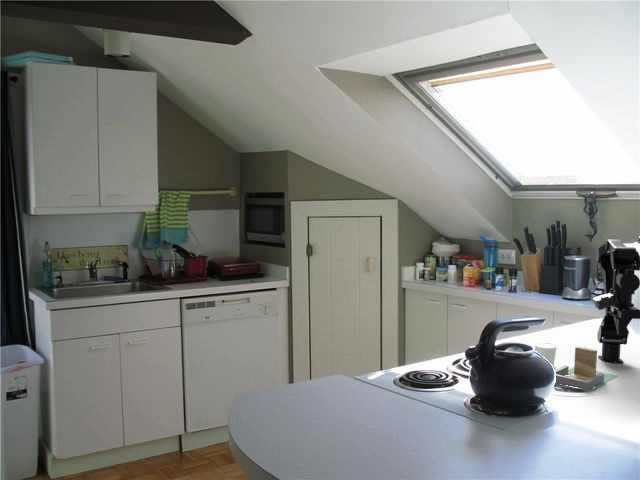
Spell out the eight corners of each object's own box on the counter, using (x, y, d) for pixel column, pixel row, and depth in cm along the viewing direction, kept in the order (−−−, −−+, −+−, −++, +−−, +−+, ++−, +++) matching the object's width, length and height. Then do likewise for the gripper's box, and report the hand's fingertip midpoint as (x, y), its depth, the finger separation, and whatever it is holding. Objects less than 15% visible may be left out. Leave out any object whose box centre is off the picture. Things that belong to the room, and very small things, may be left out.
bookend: (576, 374, 217) (578, 346, 216) (595, 378, 213) (597, 350, 212) (560, 382, 209) (562, 353, 208) (580, 386, 205) (581, 357, 204)
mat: (575, 367, 226) (575, 366, 226) (619, 376, 216) (619, 375, 216) (544, 382, 210) (544, 381, 210) (589, 393, 200) (589, 392, 200)
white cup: (552, 363, 230) (553, 342, 229) (557, 369, 223) (558, 348, 222) (531, 362, 230) (532, 342, 230) (536, 368, 224) (537, 347, 223)
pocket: (564, 373, 218) (564, 365, 218) (603, 382, 209) (604, 374, 209) (547, 381, 210) (547, 373, 209) (587, 391, 201) (587, 382, 201)
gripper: (587, 281, 228) (585, 327, 230) (606, 291, 209) (603, 341, 211) (622, 281, 227) (619, 328, 229) (644, 292, 209) (641, 342, 210)
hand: (619, 334), depth 220 cm, fingers closed
